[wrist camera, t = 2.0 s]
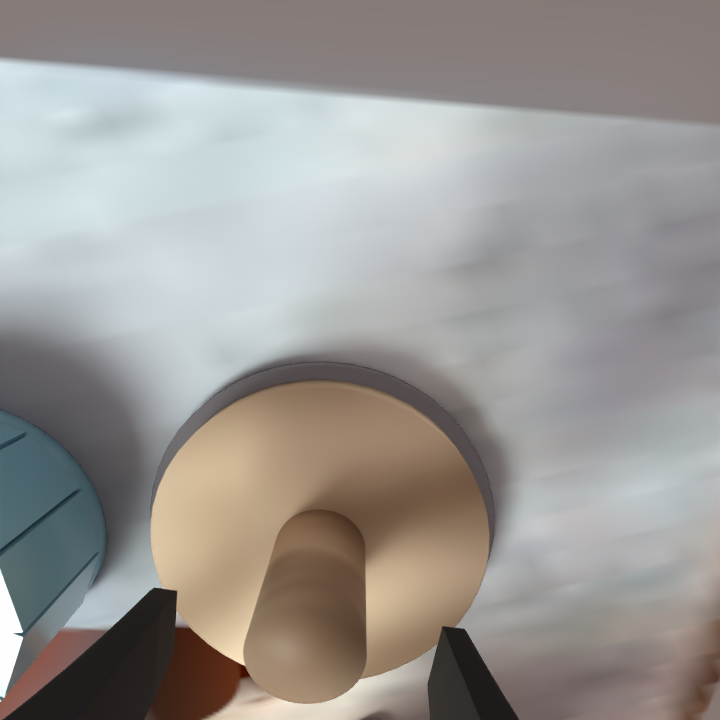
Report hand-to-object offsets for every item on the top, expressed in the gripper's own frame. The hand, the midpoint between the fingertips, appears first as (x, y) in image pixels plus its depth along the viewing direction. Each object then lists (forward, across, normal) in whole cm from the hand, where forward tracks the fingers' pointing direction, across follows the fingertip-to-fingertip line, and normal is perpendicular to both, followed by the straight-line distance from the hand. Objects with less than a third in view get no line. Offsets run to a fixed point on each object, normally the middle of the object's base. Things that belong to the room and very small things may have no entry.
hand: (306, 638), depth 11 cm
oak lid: (+5, 0, 0) cm, 5 cm away
